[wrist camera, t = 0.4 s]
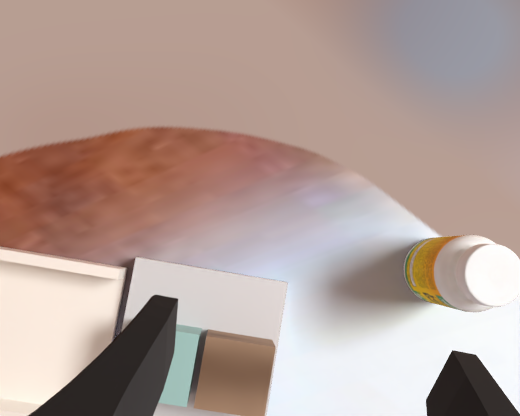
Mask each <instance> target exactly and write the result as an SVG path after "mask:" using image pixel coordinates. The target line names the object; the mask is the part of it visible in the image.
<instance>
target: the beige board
mask: <svg viewBox="0 0 520 416" xmlns="http://www.w3.org/2000/svg"><path fill="white" fill-rule="evenodd" d="M287 285H288V283H287V282H284V281H278V280H272V279H266V278H260V277H254V276H248V275H242V274H236V273H230V272H225V271H219V270H213V269H207V268H201V267H195V266H189V265H183V264H177V263H171V262H165V261H160V260H154V259H148V258H142V257H136V259H135V264H134V269H133V274H132V279H131V284H130V289H129V295H128V300H127V305H126V310H125V315H124V320H123V325H122V330H121V332H122V331H123V330H124V329H125V327H126V326H127V325H128V324H129V323H130V322H131V321H132V320H133V319H134V317H135V316H136V315H137V314H138V313H139V311H140V310H141V309H142V308H143V307H144V305H145V304H146V303H147V302H148V300H149V299H150V298H151V297H152V296H154V295H155V294H156V295H161V296H166V297H172V298H177V299H178V310H177V323H176V324H179V325H185V326H191V327H197V328H202V331H201V337H200V342H199V348H198V353H197V359H196V364H195V370H194V376H193V381H192V387H191V392H190V397H189V400H188V404H187V407H182V406H176V405H169V404H163V403H158V404H157V407H156V409H155V412H154V414H153V416H240V415H233V414H227V413H220V412H214V411H208V410H201V409H195V408H194V403H195V397H196V392H197V386H198V381H199V375H200V369H201V364H202V358H203V352H204V347H205V341H206V336H207V332H208V329H209V330H216V331H222V332H228V333H234V334H240V335H246V336H252V337H258V338H264V339H271V340H272V341H273V343H274V345H275V347H276V349H275V355H274V361H273V367H272V373H271V380H270V386H269V392H268V398H267V404H266V410H265V416H266V415H267V408H268V402H269V396H270V390H271V384H272V378H273V371H274V365H275V359H276V353H277V347H278V341H279V335H280V328H281V322H282V316H283V310H284V304H285V298H286V291H287Z"/></svg>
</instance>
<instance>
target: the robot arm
mask: <svg viewBox="0 0 520 416" xmlns="http://www.w3.org/2000/svg"><path fill="white" fill-rule="evenodd" d="M177 310H178V299H177V298H172V297H166V296H161V295H156V294H155V295H154V296H152V297H151V298H150V299H149V300H148V302H147V303H146V304H145V305H144V307H143V308H142V309H141V310H140V311H139V313H138V314H137V315H136V316H135V317H134V319H133V320H132V321H131V322H130V323H129V324H128V325H127V326H126V327H125V329H124V330H123V331H122V332H121V333H120V334H119V335H118V336H117V337H116V338H115V339H114V340H113V341H112V342H111V343H110V344H109V345H108V346H107V347H106V348H105V349H104V351H103V352H102V353H101V354H99V355H98V356H97V357H96V358H95V359H94V360H93V361H92V362H91V363H90V364H89V365H88V366H87V367H86V368H85V369H83V370H82V371H81V372H80V373H79V374H78V375H77V376H76V377H75V378H74V379H73V380H71V381H70V382H69V383H68V384H67V385H66V386H65V387H63V388H62V389H61V390H60V391H59V392H57V393H56V394H55V395H54V396H53V397H51V398H50V399H49V400H48V401H46V402H45V403H44V404H43V405H41V406H40V407H39V408H38V409H36V410H35V411H34V412H32V413H31V414H29V415H28V416H153V414H154V412H155V409H156V407H157V404H158V402H159V400H160V397H161V395H162V392H163V390H164V386H165V383H166V380H167V376H168V373H169V369H170V366H171V362H172V359H173V355H174V350H175V337H176V323H177ZM426 406H427V416H520V414H519V413H518V411H517V410H516V409H515V407H514V406H513V405H512V403H511V402H510V401H509V399H508V398H507V396H506V395H505V394H504V392H503V391H502V390H501V388H500V387H499V386H498V384H497V383H496V381H495V380H494V379H493V377H492V376H491V375H490V373H489V372H488V370H487V369H486V368H485V366H484V365H483V364H482V362H481V361H480V360H479V358H478V357H477V356H476V355H474V354H468V353H463V352H458V351H452V352H451V354H450V356H449V358H448V360H447V362H446V363H445V365H444V367H443V369H442V371H441V373H440V375H439V377H438V379H437V380H436V382H435V384H434V386H433V388H432V390H431V392H430V394H429V396H428V398H427V399H426Z"/></svg>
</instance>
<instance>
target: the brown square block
mask: <svg viewBox="0 0 520 416" xmlns="http://www.w3.org/2000/svg"><path fill="white" fill-rule="evenodd" d="M275 349H276V347H275V345H274V343H273V341H272V340H271V339H264V338H258V337H252V336H246V335H240V334H234V333H228V332H222V331H216V330H209V329H208V332H207V336H206V341H205V347H204V352H203V358H202V364H201V369H200V375H199V381H198V386H197V392H196V397H195V403H194V408H195V409H201V410H208V411H214V412H220V413H227V414H233V415H240V416H265V410H266V404H267V398H268V392H269V386H270V380H271V373H272V367H273V361H274V355H275Z"/></svg>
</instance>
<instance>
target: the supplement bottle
mask: <svg viewBox="0 0 520 416" xmlns="http://www.w3.org/2000/svg"><path fill="white" fill-rule="evenodd" d="M403 272H404V278H405V280H406V283H407V285H408V286H409V288H410V290H411V291H412V292H413V293H414V294H415V295H416V296H417V297H419V298H420V299H422V300H425V301H428V302H431V303H435V304H439V305H443V306H446V307H450V308H454V309H458V310H462V311H466V312H481V311H485V310H488V309H491V308H493V307H501V306H504V305H507V304H509V303H511V302H512V301H514V300H515V299H516V298H517V297H518V295H519V294H520V259H519V258H518V257H517V255H516V254H515V253H514V252H513V251H511V250H510V249H508V248H507V247H504V246H502V245H498V244H495V243H494V242H492V241H491V240H489V239H487V238H485V237H481V236H476V235H463V236H452V237H438V238H429V239H425V240H423V241H421V242H419V243H417V244H416V245H415V246H414V247H412V249H411V250H410V251H409V252H408V254H407V256H406V258H405V261H404V270H403Z"/></svg>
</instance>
